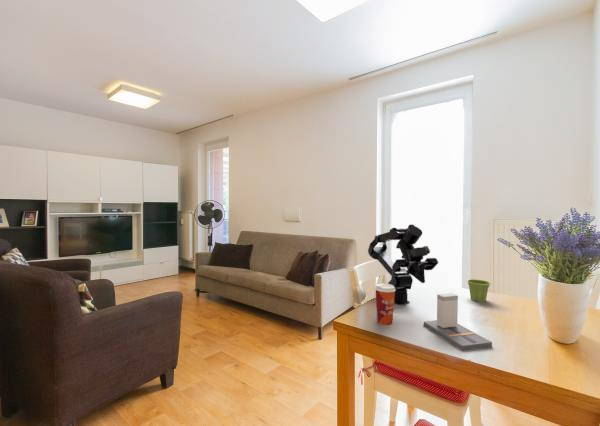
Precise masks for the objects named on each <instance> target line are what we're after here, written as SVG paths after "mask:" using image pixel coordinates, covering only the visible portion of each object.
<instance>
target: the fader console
mask: <svg viewBox="0 0 600 426" xmlns="http://www.w3.org/2000/svg"><path fill="white" fill-rule="evenodd" d="M423 327H426V328H427V329H428V330H429V331H431V332H432V333H435V334H436V335H437V336H439V337H441V338H442V339H443V340H446V342H449V344H451V345H453V346H454V347H456V348H457V349H458V350H460V351H463V352H464V351H468V350H469V351H470V350H478V349H486V348H492V347H493V341H491V340H489V339H487V338H486V337H483V336H481V335H480V334H478V333H476V332H474V331H472V330H471V329H469V328H467V327H465V326H464V325H461V324H460V323H458V322H457V326H456V327H447V328H442V327H440V326H438V325H437V319H434V320H426V321H425V320H424V321H423Z"/></svg>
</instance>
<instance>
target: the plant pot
mask: <svg viewBox="0 0 600 426" xmlns="http://www.w3.org/2000/svg"><path fill="white" fill-rule="evenodd" d="M466 281H467V285H468V288H469V295H470V300H472V301H475V302H477V303H479V302H480V303H484V302H486V301H487V296H488V291H489V287H490V285H491V282H490V281H487V280H485V279H483V280H482V279H475V278H474V279H470V278H469V279H467V280H466Z"/></svg>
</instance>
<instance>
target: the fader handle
mask: <svg viewBox="0 0 600 426" xmlns="http://www.w3.org/2000/svg"><path fill="white" fill-rule="evenodd" d="M458 297H459V296H458V295H457V294H454V293H453V292H450V293H437V295H436V298H437V299H436V320H437V325H438V326H440V327H442V328H447V327H456V326H457V323H458V315H459V314H458V309H459V308H458V307H459V305H458V304H459V303H458V302H459V301H458V299H459V298H458Z"/></svg>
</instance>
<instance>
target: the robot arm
mask: <svg viewBox="0 0 600 426" xmlns="http://www.w3.org/2000/svg"><path fill="white" fill-rule="evenodd" d="M422 235H423V231H422V229H421V228H419V227H418V226H415V225H414V224H412V223H411V224H409V225H408V227H407V226H405V227H404V226H403V227H401V226H399V227H392V228H390V229H389V231H388V232H384V233H381V234H376V235H375V236H374V239H373V240H372V241H371V242H370V243H369V245H368V248H367V253H368V255H369V257H370V258H372V259H373V260H376V261H378V262H379V263H380V264H381V266H383V268H384V269H385V270H386V271H387V273H388V274H389V275H390V280H389V281H388V283H387V284H391V285H393V286H394V287H395V289H396V291H395V296H394V304H396V305H405V304H410V301H409V300H408V290H411V289H412V286H413V280H414V278H415V279H416V280H417V281H418V282H420V283H422V284H425V282H426V279H425V271H432V270H434V269H435V268H436V266H437V265H438V264H439V261H438V259H437V258H436V257H427V258H426V259H425V260H424V261H422V260H423V259H424V257H426V256H428V254H430V253H431V249H430V248H429V246H428V245H425V246H422V247H420V246H419V247H415V246H414V245H415V244H417V242H418V241H419V239H420V238H421V236H422ZM389 241H390V242H391V241H398V242H397V244H396V247H395V248H396V249H399V250H400V253H401V259H399V258H398V259H395V261H394V262H393V260H391V258H390V257H389V256H388V255H387V249H388V248H387V242H389ZM379 243H382V245H378V244H379Z"/></svg>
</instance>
